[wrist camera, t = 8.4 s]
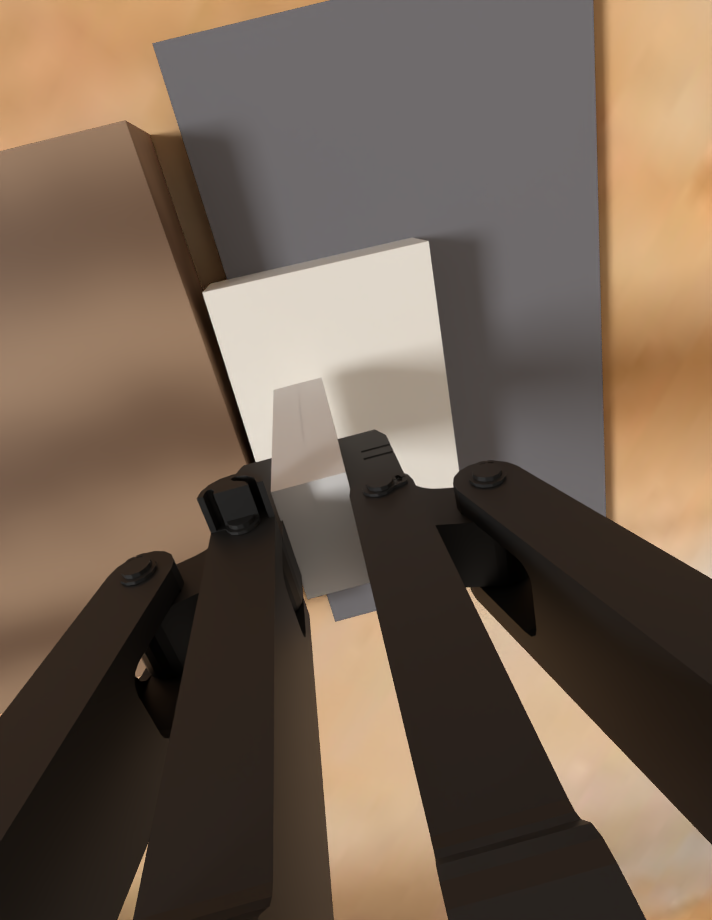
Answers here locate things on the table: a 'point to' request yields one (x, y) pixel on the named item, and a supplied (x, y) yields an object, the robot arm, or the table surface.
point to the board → (98, 383)
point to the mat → (426, 193)
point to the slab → (345, 349)
